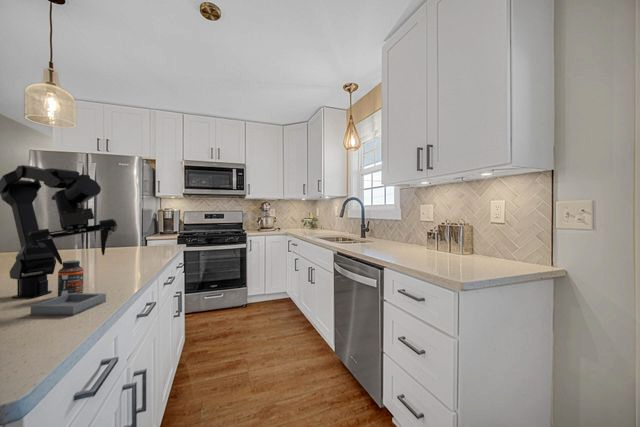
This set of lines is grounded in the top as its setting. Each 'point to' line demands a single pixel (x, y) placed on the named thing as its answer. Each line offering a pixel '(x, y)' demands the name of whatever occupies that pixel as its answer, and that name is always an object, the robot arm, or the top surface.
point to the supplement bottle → (70, 278)
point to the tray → (68, 304)
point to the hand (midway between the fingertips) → (83, 259)
